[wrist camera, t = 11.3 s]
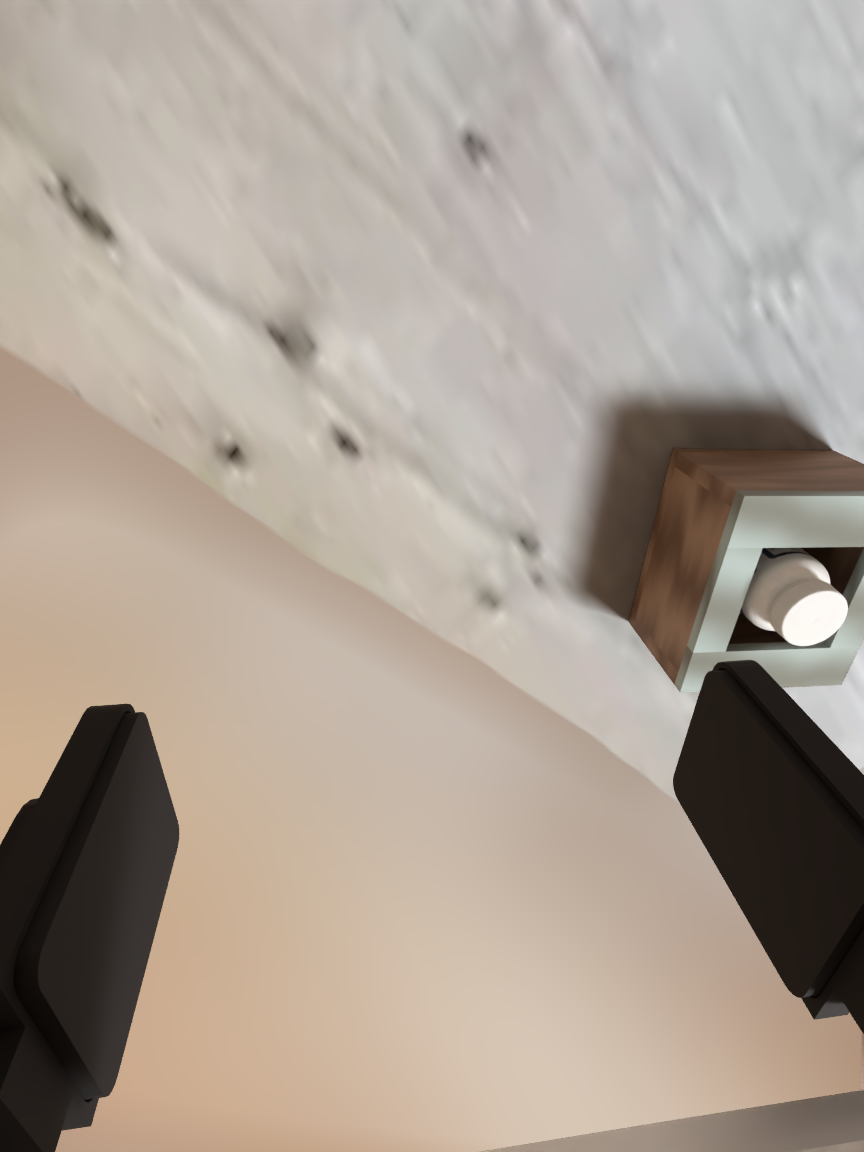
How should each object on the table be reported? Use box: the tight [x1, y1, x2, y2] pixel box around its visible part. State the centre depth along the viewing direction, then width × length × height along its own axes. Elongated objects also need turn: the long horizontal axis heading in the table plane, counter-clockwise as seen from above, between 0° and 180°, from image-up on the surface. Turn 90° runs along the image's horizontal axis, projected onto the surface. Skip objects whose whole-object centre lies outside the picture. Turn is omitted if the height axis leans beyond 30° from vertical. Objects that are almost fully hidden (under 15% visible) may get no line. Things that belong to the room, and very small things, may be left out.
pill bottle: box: [740, 548, 848, 646], centre depth 40 cm, size 5×5×10 cm
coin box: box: [629, 448, 864, 692], centre depth 41 cm, size 14×12×8 cm
